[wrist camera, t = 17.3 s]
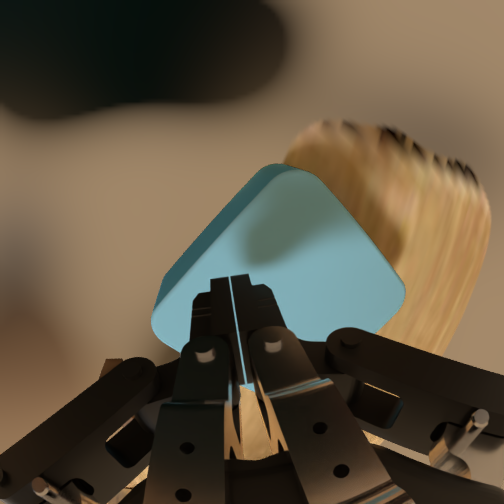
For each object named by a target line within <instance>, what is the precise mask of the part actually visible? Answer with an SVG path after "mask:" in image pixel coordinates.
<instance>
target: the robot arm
mask: <svg viewBox="0 0 504 504" xmlns="http://www.w3.org/2000/svg"><path fill="white" fill-rule="evenodd" d="M230 278H231V285H232V292H233V299H234V305H235V312H236V318H237V324H238V331H239V337H240V343H241V349H242V355H243V361H244V367H245V373H246V379H247V384H251V383H253V384H254V389H255V394H256V401H257V405H258V408H259V411H260V414H261V418H262V421H263V424H264V427H265V430H266V433H267V437H268V440H269V443H270V446H271V450H272V454H273V455H271V456H269V457H266V458H264V459H261V460H244V454H243V443H242V423H241V404H240V397H241V394H240V387H239V385H245V379H244V373H243V367H242V361H241V354H240V348H239V341H238V335H237V328H236V322H235V315H234V309H233V302H232V296H231V289H230V283H229V276H227V277H220V278H213V279H210V292H202V293H198V294H197V296H196V297H195V298H194V300H193V303H192V314H191V317H192V318H191V326H190V339H189V342H187V343H186V344H185V345H184V347H183V348H182V350H181V354H180V357H179V358H178V359H176V360H174V361H172V362H169V363H167V364H164V365H160V366H157V367H156V366H155V364H154V363H153V362H152V361H151V360H149V359H147V358H142V357H134V358H130V359H127V360H125V361H123V362H121V363H120V364H118V365H117V366H116V367H114V368H113V369H112V370H111V371H109V372H108V373H107V374H105V375H104V376H103V377H102V378H100V379H99V380H98V381H96V382H95V383H94V384H92V385H91V386H90V387H89V388H87V389H86V390H85V391H83V392H82V393H81V394H79V395H78V396H77V397H76V398H74V399H73V400H72V401H70V402H69V403H68V404H66V405H65V406H64V407H63V408H61V409H60V410H59V411H57V412H56V413H55V414H53V415H52V416H51V417H50V418H48V419H47V420H46V421H44V422H43V423H42V424H40V425H39V426H38V427H36V428H35V429H34V430H32V431H31V432H30V433H28V434H27V435H26V436H25V437H23V438H22V439H21V440H19V441H18V442H17V443H15V444H14V445H13V446H11V447H10V448H9V449H7V450H6V451H5V452H3V453H2V454H1V455H0V500H1V501H2V502H4V503H5V504H107V503H108V504H504V490H503V489H501V486H502V483H503V480H504V375H500V374H497V373H494V372H490V371H486V370H483V369H480V368H477V367H473V366H470V365H467V364H463V363H460V362H457V361H454V360H451V359H448V358H444V357H441V356H438V355H435V354H432V353H429V352H426V351H423V350H420V349H417V348H414V347H411V346H408V345H405V344H402V343H399V342H396V341H393V340H390V339H388V338H385V337H382V336H379V335H376V334H373V333H370V332H368V331H365V330H362V329H359V328H354V327H344V328H340V329H337V330H335V331H333V332H332V333H330V334H329V336H328V337H327V339H326V342H325V341H305V340H302V339H299V338H297V337H296V335H295V334H294V333H293V332H292V331H291V330H289V329H287V326H286V324H285V321H284V319H283V316H282V314H281V311H280V309H279V306H278V305H277V302H276V299H275V297H274V294H273V292H272V289H270V288H269V287H268V286H266V285H265V284H258V285H252V284H251V281H250V277H249V274H241V275H234V276H230ZM364 383H368V384H370V385H372V386H375V387H377V388H380V389H382V390H385V391H387V392H390V393H392V394H395V395H397V396H399V397H400V398H399V397H396V396H393V395H391V394H388V393H386V392H383V391H381V390H378V389H376V388H373V387H371V386H368V385H366V384H364ZM133 416H134V417H135V418H134V419H133V420H132V421H130V422H129V423H128V424H127V425H126V426H125V427H124V428H122V429H121V430H120V431H119V432H118V433H117V434H116V435H115V436H113V437H112V438H111V439H110V440H109V441H107V442H106V440H107V439H108V438H109V436H111V435H112V434H113V433H114V432H115V431H117V430H118V429H119V428H120V427H121V426H122V425H124V424H125V423H126V422H127V421H128V420H129V419H130V418H131V417H133ZM362 430H364V431H366V432H369V433H371V434H373V435H376V436H378V437H380V438H383V439H385V440H388V441H390V442H393V443H395V444H398V445H400V446H403V447H405V448H408V449H411V450H414V451H416V452H419V453H422V454H425V455H428V456H429V460H430V463H431V465H430V466H429V465H426V464H424V463H421V462H419V461H416V460H414V459H411V458H409V457H406V456H404V455H402V454H399V453H397V452H395V451H392V450H390V449H388V448H385V447H383V446H379V445H376V444H372V443H369V441H368V439H367V438H366V436H365V434H364V433H363V431H362ZM148 465H149V468H148V474H147V478H146V479H144V480H143V481H141V482H140V483H139V484H137V485H136V486H135V487H134V488H133V489H126V488H125V487H126V486H127V485H128V484H129V483H130V482H131V481H132V480H133V479H135V478H136V477H137V476H138V475H139V474H140V473H141V472H142V471H143V470H144V469H145V468H146V467H147V466H148Z"/></svg>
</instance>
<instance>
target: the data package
mask: <svg viewBox="0 0 504 504" xmlns="http://www.w3.org/2000/svg"><path fill="white" fill-rule="evenodd" d="M241 274H249V277H250V281H251V284H252V285H258V284H265V285H266V286H268V287H269V288H270V289H272V292H273V294H274V297H275V299H276V302H277V305H278V306H279V309H280V311H281V314H282V316H283V319H284V321H285V324H286V326H287V329H289V330H291V331H292V332H293V333H294V334H295V335H296V337H297V338H299V339H302V340H305V341H325V342H326V339H327V337H328V336H329V334H330V333H332V332H333V331H335V330H337V329H340V328H344V327H354V328H359V329H362V330H365V331H368V332H370V333H373V334H375V333H376V332H377V331H378V330H379V329H380V328H382V327H383V326H384V325H385V324H386V323H387V322H388V321H389V320H390V319H391V318H392V317H393V316H394V315H395V314H396V313H397V312H398V310H399V309H400V307H401V306H402V304H403V302H404V299H405V293H406V291H405V285H404V283H403V281H402V280H401V278H400V277H399V276H398V274H397V273H396V272H395V270H394V269H393V267H392V266H391V265H390V263H389V262H388V261H387V259H386V258H385V257H384V255H383V254H382V253H381V251H380V250H379V249H378V248H377V246H376V245H375V244H374V242H373V241H372V240H371V239H370V237H369V236H368V235H367V234H366V232H365V231H364V230H363V229H362V227H361V226H360V225H359V224H358V222H357V221H356V220H355V219H354V218H353V216H352V215H351V214H350V213H349V212H348V210H347V209H346V208H345V207H344V206H343V205H342V203H341V202H340V201H339V200H338V199H337V198H336V197H335V195H334V194H333V193H332V192H331V191H330V190H329V189H328V188H327V186H326V185H325V184H324V183H323V182H322V181H321V180H320V179H319V178H318V177H317V176H315V175H314V174H312V173H310V172H307V171H304V170H301V169H298V168H295V167H291V166H288V165H285V164H271V165H268V166H265V167H263V168H262V169H260V170H259V171H258V172H257V173H256V174H255V175H254V176H253V177H252V178H251V179H250V180H249V181H248V183H247V184H246V185H245V186H244V187H243V188H242V189H241V190H240V191H239V192H238V193H237V194H236V195H235V196H234V198H233V199H232V200H231V201H230V202H229V203H228V204H227V205H226V206H225V207H224V208H223V209H222V211H221V212H220V213H219V214H218V215H217V216H216V217H215V218H214V219H213V221H212V222H211V223H210V224H209V225H208V226H207V227H206V229H204V231H203V232H202V233H201V234H200V235H199V236H198V238H197V239H196V240H195V241H194V242H193V243H192V244H191V245H190V247H189V248H188V249H187V250H186V251H185V252H184V253H183V255H182V256H181V257H180V258H179V259H178V261H177V262H176V263H175V264H174V265H173V266H172V268H171V269H170V270H169V271H168V272H167V273H166V275H165V276H164V278H163V280H162V283H161V287H160V290H159V293H158V296H157V299H156V303H155V306H154V309H153V313H152V316H151V325H152V329H153V331H154V333H155V334H156V336H157V337H158V338H159V339H160V340H161V341H162V342H164V343H165V344H167V345H168V346H170V347H172V348H173V349H175V350H177V351H179V352H180V353H181V350H182V348H183V347H184V345H185V344H186V343H187V342H189V339H190V326H191V318H192V317H191V314H192V303H193V300H194V298H195V297H196V296H197V294H198V293H202V292H210V279H213V278H220V277H227V276H229V283H230V289H231V296H232V302H233V309H234V315H235V322H236V328H237V335H238V341H239V348H240V354H241V361H242V367H243V373H244V379H245V385H241V386H243V387H245V388H247V389H249V390H252V391H254V392H255V389H254V384H253V383H251V384H247V379H246V373H245V367H244V361H243V355H242V349H241V343H240V337H239V331H238V324H237V318H236V312H235V305H234V299H233V292H232V285H231V278H230V276H234V275H241Z"/></svg>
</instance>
